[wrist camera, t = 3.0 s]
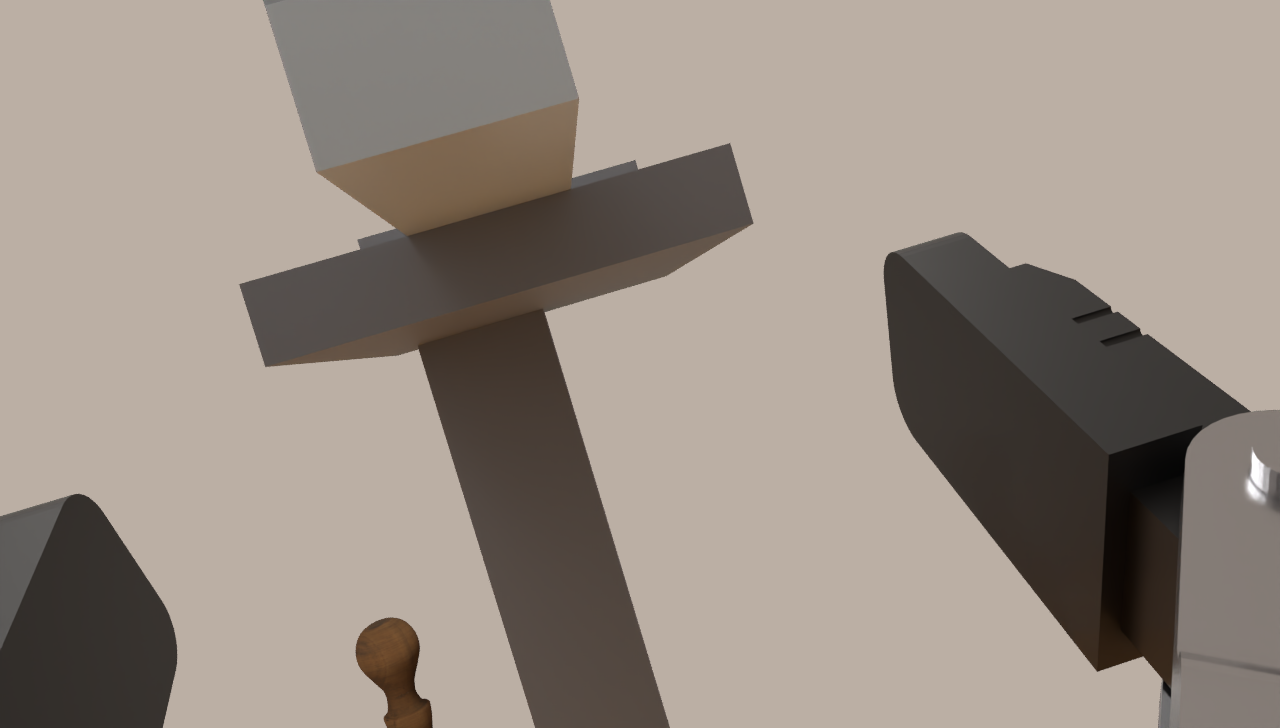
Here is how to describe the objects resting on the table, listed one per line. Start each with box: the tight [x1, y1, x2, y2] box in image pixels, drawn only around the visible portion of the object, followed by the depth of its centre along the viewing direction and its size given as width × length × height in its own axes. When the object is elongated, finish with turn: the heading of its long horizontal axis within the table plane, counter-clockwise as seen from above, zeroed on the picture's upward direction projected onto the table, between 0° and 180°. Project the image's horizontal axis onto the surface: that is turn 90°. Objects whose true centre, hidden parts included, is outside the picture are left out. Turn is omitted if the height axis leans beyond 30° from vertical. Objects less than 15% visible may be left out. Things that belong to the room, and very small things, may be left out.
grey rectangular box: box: [263, 0, 579, 236], centre depth 27 cm, size 24×4×3 cm, turn 5°
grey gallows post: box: [240, 143, 753, 728], centre depth 35 cm, size 20×12×35 cm, turn 5°
